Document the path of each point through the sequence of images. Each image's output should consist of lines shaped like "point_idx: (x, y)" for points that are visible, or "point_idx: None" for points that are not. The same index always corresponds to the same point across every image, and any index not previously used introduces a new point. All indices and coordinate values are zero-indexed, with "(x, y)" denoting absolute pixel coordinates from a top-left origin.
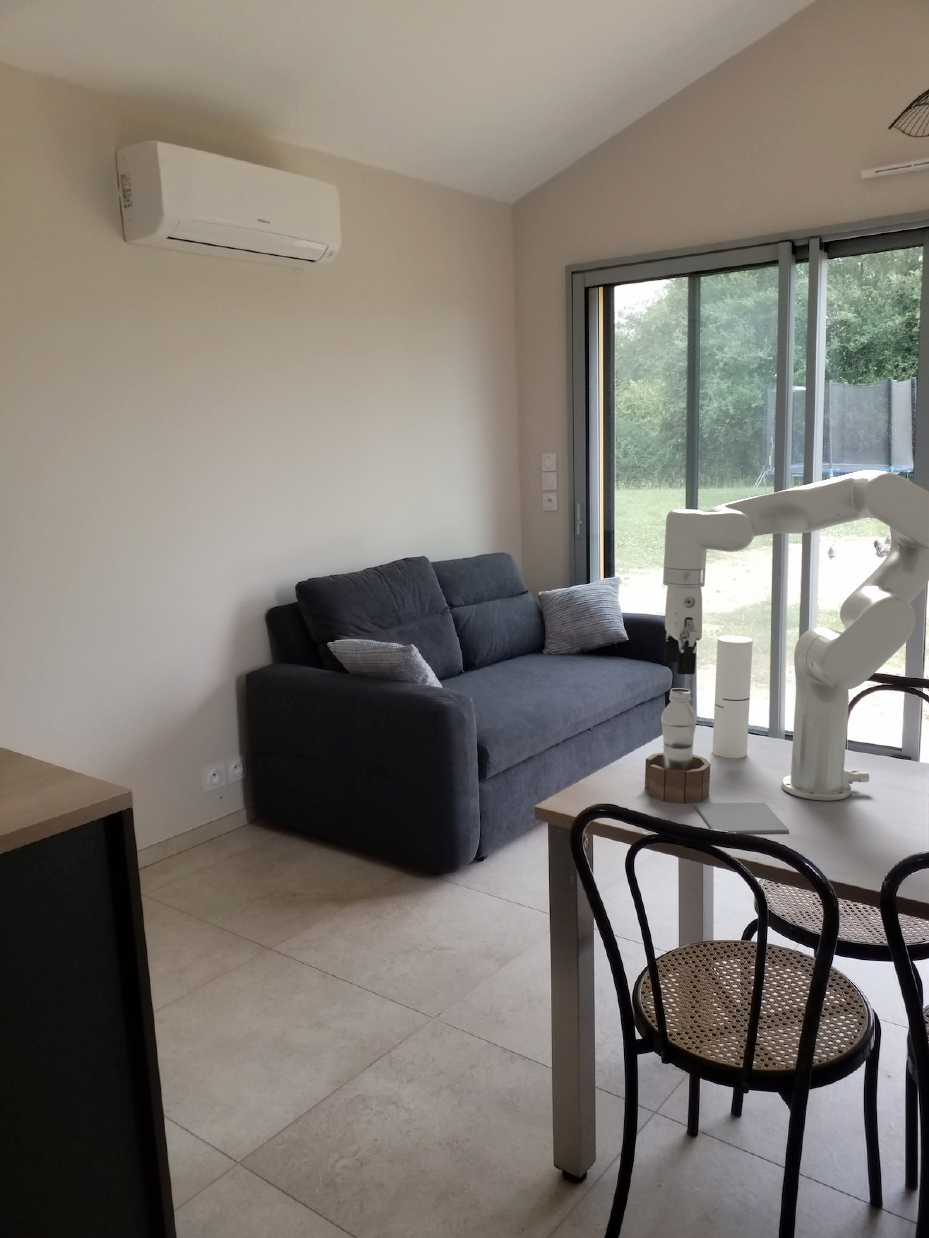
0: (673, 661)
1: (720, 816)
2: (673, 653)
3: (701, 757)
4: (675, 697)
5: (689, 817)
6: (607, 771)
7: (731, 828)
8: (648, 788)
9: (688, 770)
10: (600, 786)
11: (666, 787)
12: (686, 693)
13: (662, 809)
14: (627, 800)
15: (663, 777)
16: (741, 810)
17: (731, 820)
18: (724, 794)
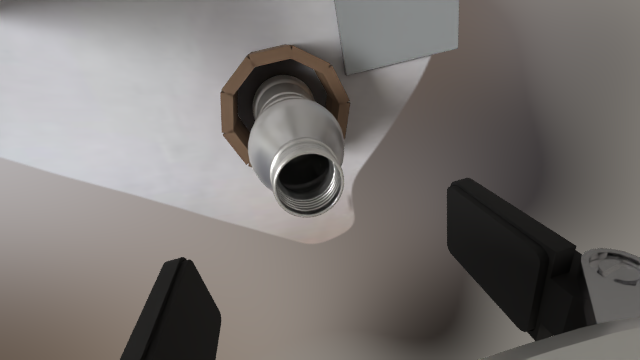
0: (207, 289)
1: (401, 31)
2: (196, 331)
3: (243, 64)
4: (334, 190)
5: (394, 84)
6: (211, 215)
7: (450, 16)
8: None
9: (338, 95)
10: (284, 215)
11: None
12: (337, 162)
13: (365, 125)
14: None
15: None
16: None
17: (417, 12)
18: (276, 11)
